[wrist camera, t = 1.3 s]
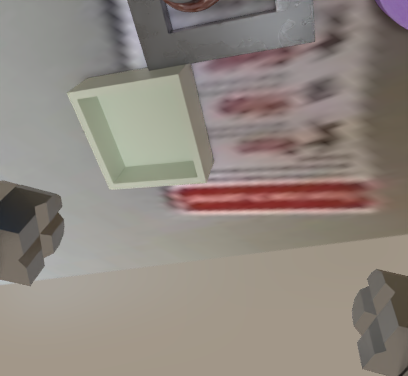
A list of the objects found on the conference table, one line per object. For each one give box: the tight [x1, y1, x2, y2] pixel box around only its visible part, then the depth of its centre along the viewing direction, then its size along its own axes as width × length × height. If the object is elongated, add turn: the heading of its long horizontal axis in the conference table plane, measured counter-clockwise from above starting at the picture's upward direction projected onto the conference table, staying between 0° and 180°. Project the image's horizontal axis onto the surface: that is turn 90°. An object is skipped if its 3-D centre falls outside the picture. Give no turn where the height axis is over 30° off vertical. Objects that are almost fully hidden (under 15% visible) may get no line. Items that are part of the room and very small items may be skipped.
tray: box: [67, 64, 214, 190], centre depth 39 cm, size 12×12×4 cm
